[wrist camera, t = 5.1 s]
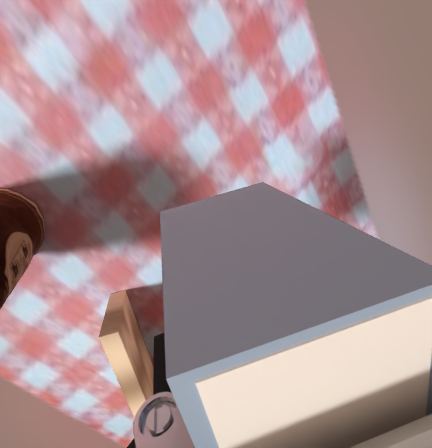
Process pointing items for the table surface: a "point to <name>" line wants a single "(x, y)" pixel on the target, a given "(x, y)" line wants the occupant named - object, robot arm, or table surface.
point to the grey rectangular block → (290, 324)
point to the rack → (127, 351)
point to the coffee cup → (17, 238)
